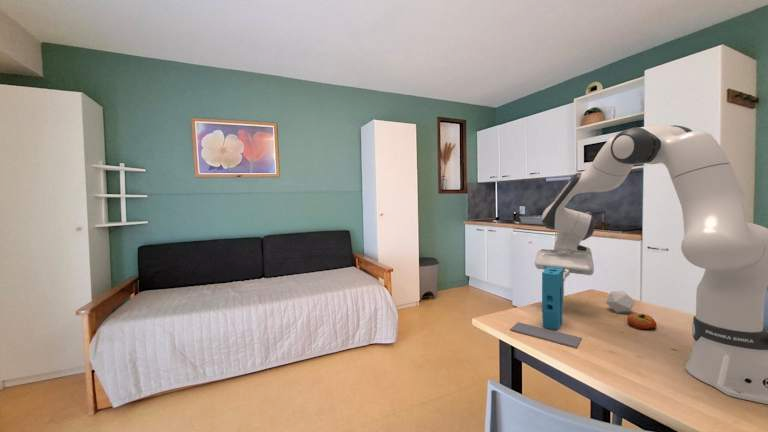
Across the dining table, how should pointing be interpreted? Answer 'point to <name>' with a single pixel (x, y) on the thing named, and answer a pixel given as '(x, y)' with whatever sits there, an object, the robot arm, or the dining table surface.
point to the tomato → (641, 321)
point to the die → (620, 302)
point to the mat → (547, 334)
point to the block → (552, 297)
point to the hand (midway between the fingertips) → (560, 279)
